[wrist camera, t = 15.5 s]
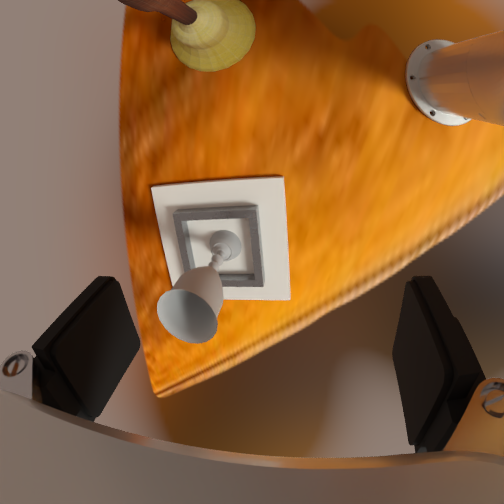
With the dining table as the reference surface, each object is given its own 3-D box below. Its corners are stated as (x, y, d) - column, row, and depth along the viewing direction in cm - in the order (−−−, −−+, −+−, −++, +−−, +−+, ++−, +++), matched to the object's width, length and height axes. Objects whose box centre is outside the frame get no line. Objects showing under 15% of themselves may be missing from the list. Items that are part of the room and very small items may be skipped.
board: (283, 176, 44) (283, 177, 43) (290, 296, 53) (290, 300, 52) (153, 185, 48) (151, 187, 47) (177, 294, 56) (175, 297, 55)
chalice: (198, 227, 48) (147, 292, 33) (240, 219, 47) (204, 285, 31) (211, 268, 51) (171, 344, 36) (252, 263, 50) (226, 341, 34)
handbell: (155, 51, 38) (29, 31, 16) (198, -17, 32) (103, -91, 10) (225, 86, 39) (133, 77, 17) (273, 15, 34) (232, -71, 12)
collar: (258, 204, 45) (256, 209, 44) (265, 280, 51) (263, 287, 49) (177, 209, 48) (172, 213, 46) (191, 279, 53) (187, 286, 51)
